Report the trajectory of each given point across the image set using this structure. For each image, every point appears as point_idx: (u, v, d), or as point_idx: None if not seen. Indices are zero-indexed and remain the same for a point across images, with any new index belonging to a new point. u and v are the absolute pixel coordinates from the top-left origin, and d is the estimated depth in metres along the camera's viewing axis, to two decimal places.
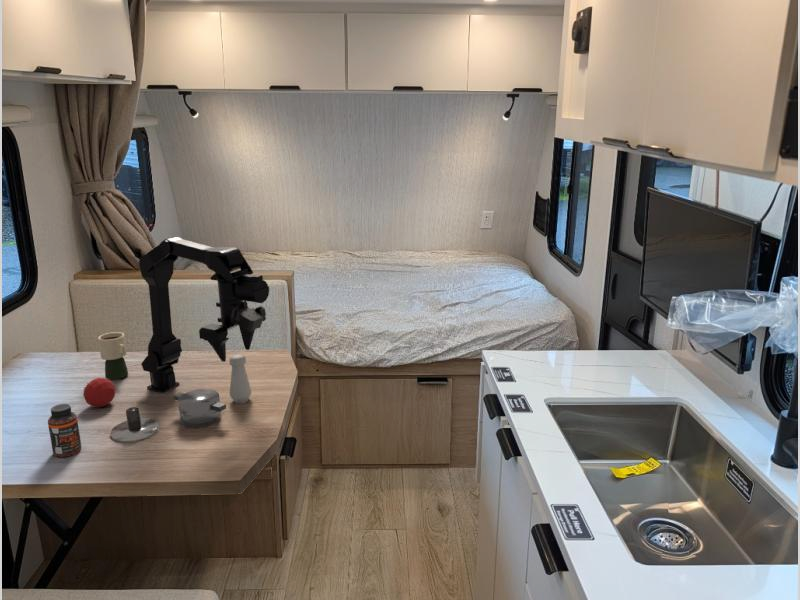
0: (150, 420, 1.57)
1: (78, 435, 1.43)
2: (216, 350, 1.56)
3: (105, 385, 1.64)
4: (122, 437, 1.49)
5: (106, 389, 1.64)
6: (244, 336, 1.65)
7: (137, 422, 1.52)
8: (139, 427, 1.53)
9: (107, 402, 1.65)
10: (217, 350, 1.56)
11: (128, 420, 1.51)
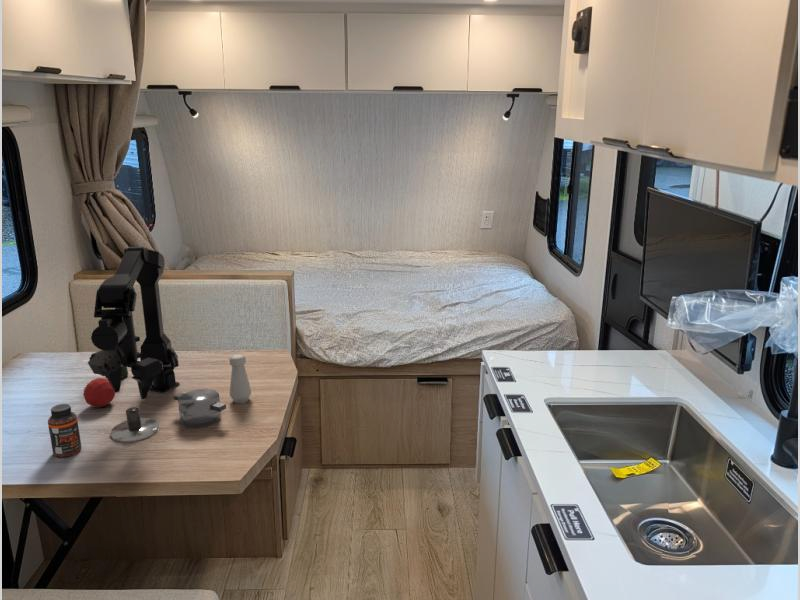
0: (150, 420, 1.57)
1: (78, 435, 1.43)
2: None
3: (105, 385, 1.64)
4: (122, 437, 1.49)
5: (106, 389, 1.64)
6: None
7: (137, 422, 1.52)
8: (139, 427, 1.53)
9: (107, 402, 1.65)
10: None
11: (128, 420, 1.51)
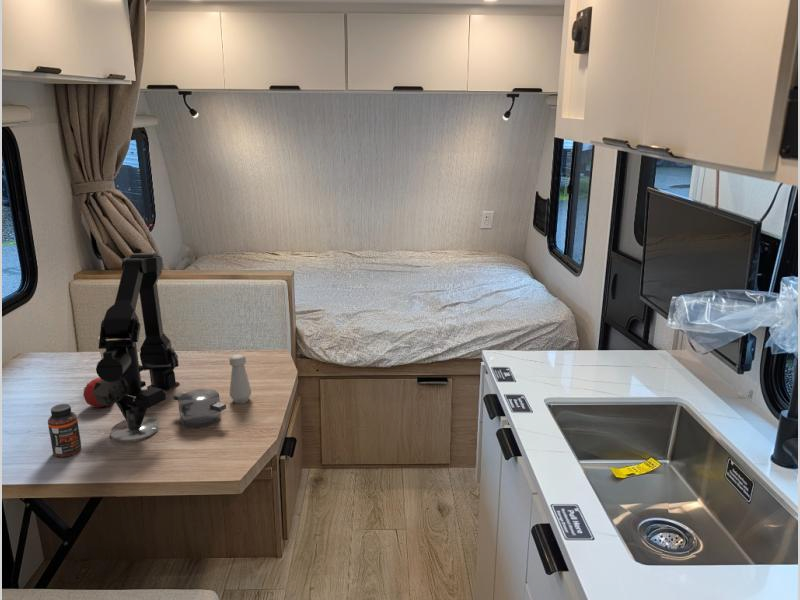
0: (150, 419, 1.57)
1: (78, 435, 1.43)
2: None
3: None
4: (122, 436, 1.49)
5: None
6: None
7: None
8: (139, 426, 1.52)
9: None
10: None
11: (128, 419, 1.51)
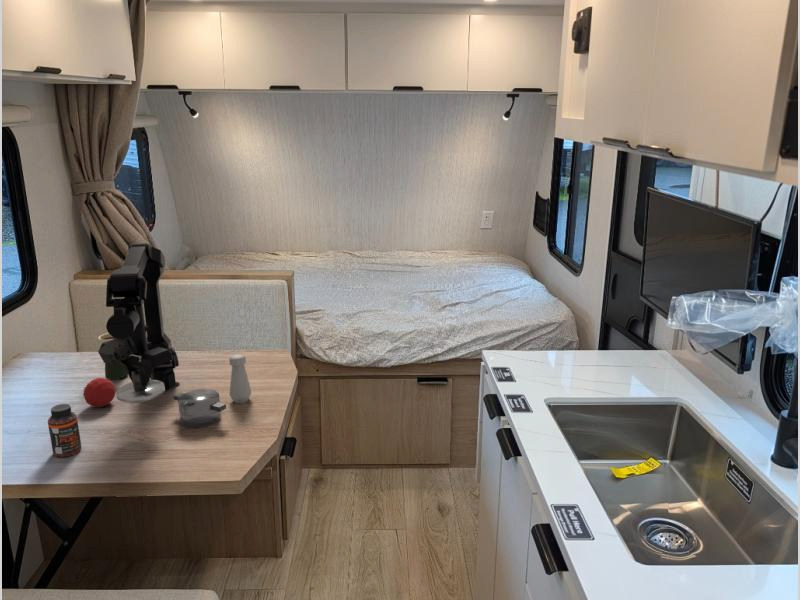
0: (156, 381, 1.55)
1: (78, 435, 1.43)
2: None
3: (105, 385, 1.64)
4: (127, 397, 1.47)
5: (106, 389, 1.64)
6: None
7: None
8: (144, 387, 1.51)
9: (107, 402, 1.65)
10: None
11: (133, 380, 1.49)
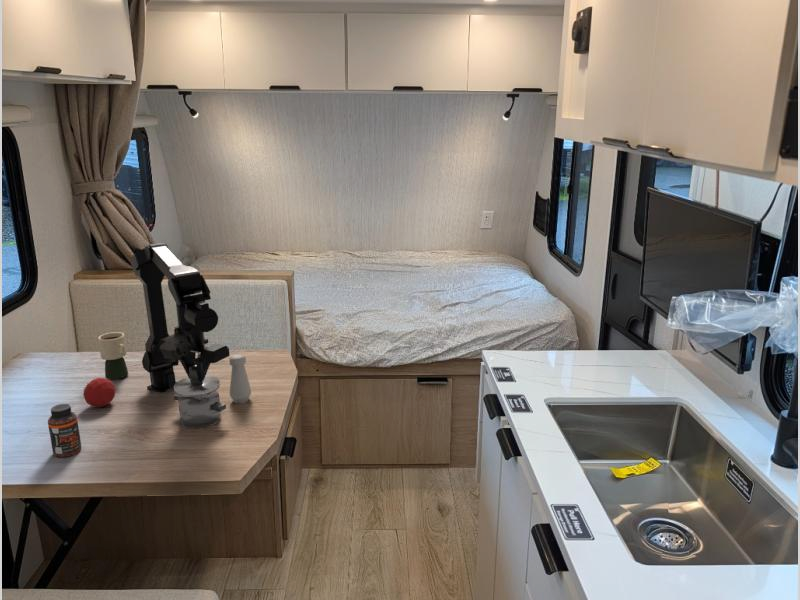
0: (210, 377, 1.60)
1: (78, 435, 1.43)
2: None
3: (105, 385, 1.64)
4: (186, 391, 1.52)
5: (106, 389, 1.64)
6: None
7: None
8: (201, 382, 1.56)
9: (107, 402, 1.65)
10: None
11: (191, 375, 1.54)
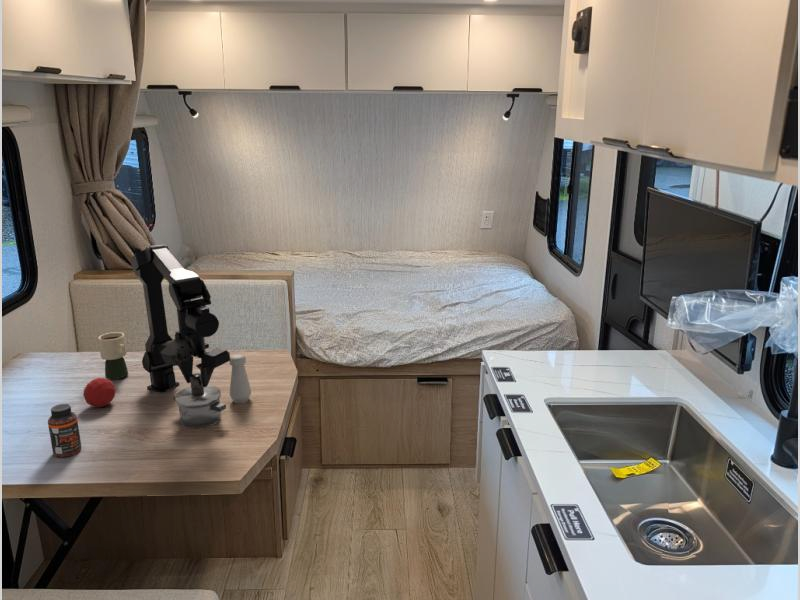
0: (211, 387, 1.61)
1: (78, 435, 1.43)
2: None
3: (105, 385, 1.64)
4: (187, 401, 1.53)
5: (106, 389, 1.64)
6: None
7: (200, 387, 1.56)
8: (202, 392, 1.57)
9: (107, 402, 1.65)
10: None
11: (192, 385, 1.55)
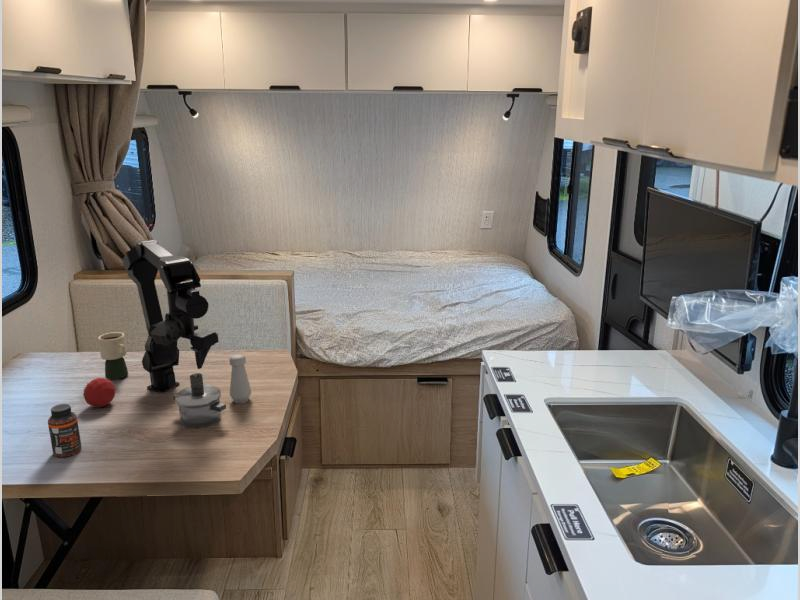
0: (211, 387, 1.61)
1: (78, 435, 1.43)
2: None
3: (105, 385, 1.64)
4: (187, 401, 1.53)
5: (106, 389, 1.64)
6: None
7: (200, 387, 1.56)
8: (202, 392, 1.57)
9: (107, 402, 1.65)
10: None
11: (192, 385, 1.55)
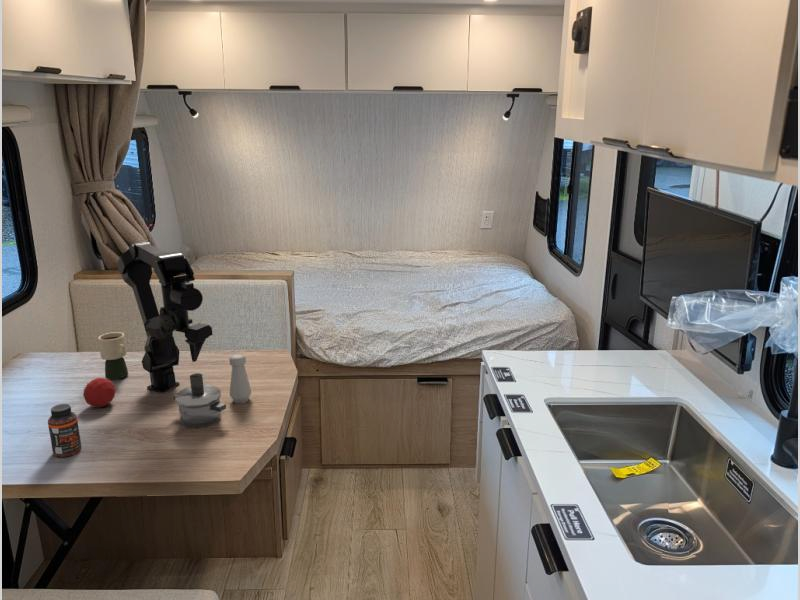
0: (211, 387, 1.61)
1: (78, 435, 1.43)
2: None
3: (105, 385, 1.64)
4: (187, 401, 1.53)
5: (106, 389, 1.64)
6: None
7: (200, 387, 1.56)
8: (202, 392, 1.57)
9: (107, 402, 1.65)
10: None
11: (192, 385, 1.55)
